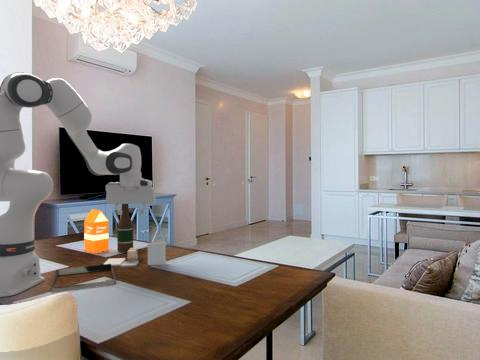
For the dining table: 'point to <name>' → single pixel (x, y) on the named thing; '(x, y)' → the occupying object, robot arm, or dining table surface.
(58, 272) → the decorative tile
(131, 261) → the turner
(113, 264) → the mat
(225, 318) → the dining table surface
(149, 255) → the tile
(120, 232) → the beer bottle
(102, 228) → the orange juice
